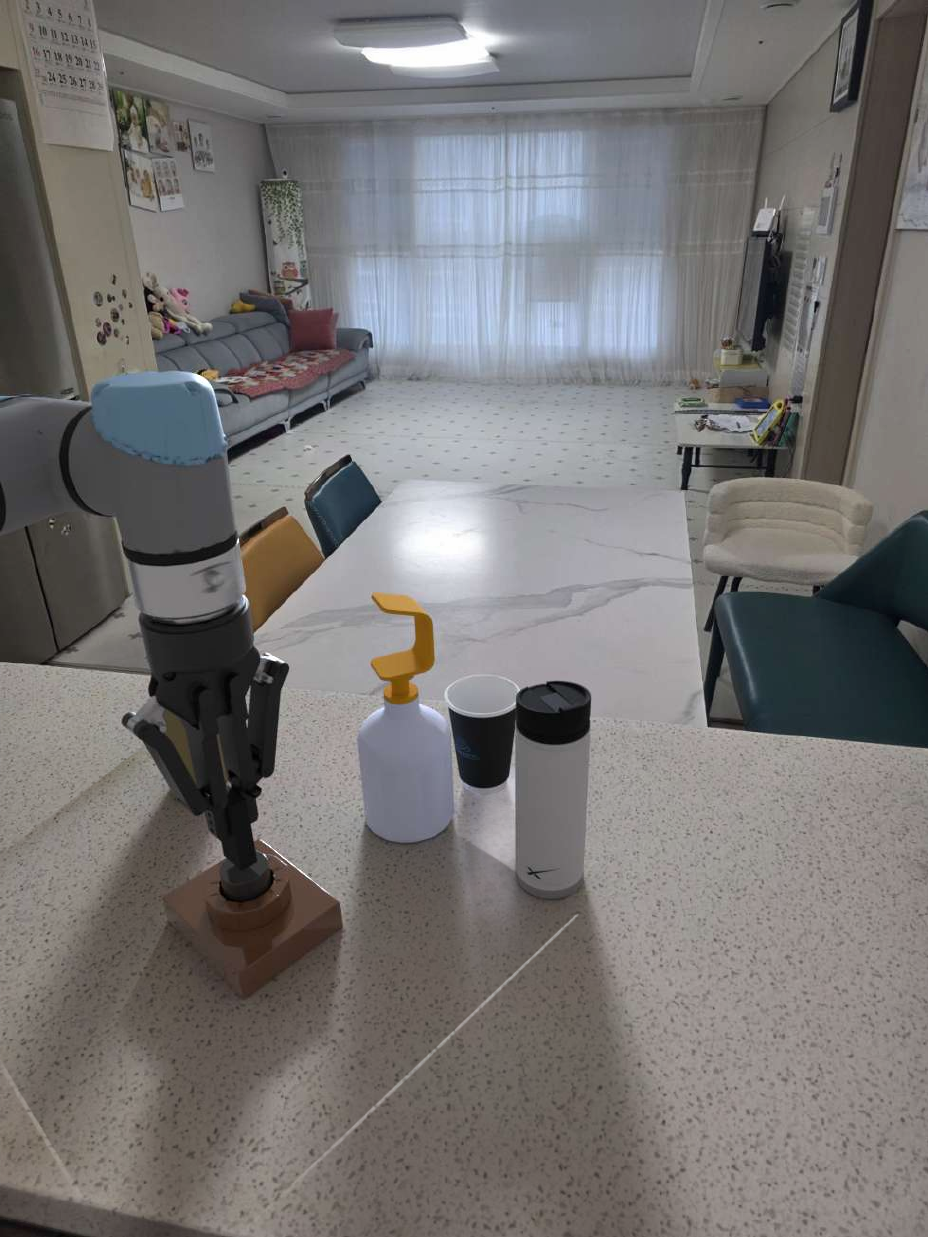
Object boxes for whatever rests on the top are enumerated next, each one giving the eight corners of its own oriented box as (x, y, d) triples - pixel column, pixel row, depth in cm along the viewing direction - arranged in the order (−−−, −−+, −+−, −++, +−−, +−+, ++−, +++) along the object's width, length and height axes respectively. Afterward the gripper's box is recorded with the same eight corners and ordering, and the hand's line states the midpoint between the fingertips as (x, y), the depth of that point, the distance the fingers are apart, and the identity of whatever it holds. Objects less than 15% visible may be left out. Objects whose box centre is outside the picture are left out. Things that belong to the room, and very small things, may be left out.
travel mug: (537, 912, 72) (539, 720, 63) (503, 864, 77) (502, 680, 69) (598, 890, 74) (609, 700, 65) (561, 844, 80) (567, 664, 71)
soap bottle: (354, 801, 86) (330, 588, 75) (435, 778, 89) (423, 570, 79) (380, 856, 79) (359, 627, 68) (468, 829, 82) (460, 606, 71)
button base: (167, 922, 72) (156, 879, 70) (263, 862, 79) (256, 820, 76) (244, 1001, 65) (234, 955, 62) (343, 927, 71) (338, 883, 69)
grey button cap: (213, 886, 70) (209, 868, 69) (254, 861, 72) (250, 843, 71) (240, 910, 67) (236, 891, 66) (280, 883, 70) (277, 865, 69)
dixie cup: (525, 762, 92) (526, 677, 87) (516, 808, 85) (516, 718, 80) (455, 756, 93) (452, 671, 88) (440, 800, 86) (436, 711, 81)
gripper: (130, 653, 51) (193, 927, 62) (300, 587, 60) (330, 839, 70) (78, 617, 56) (145, 878, 67) (243, 561, 64) (279, 801, 75)
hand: (240, 858), depth 68 cm, fingers closed
